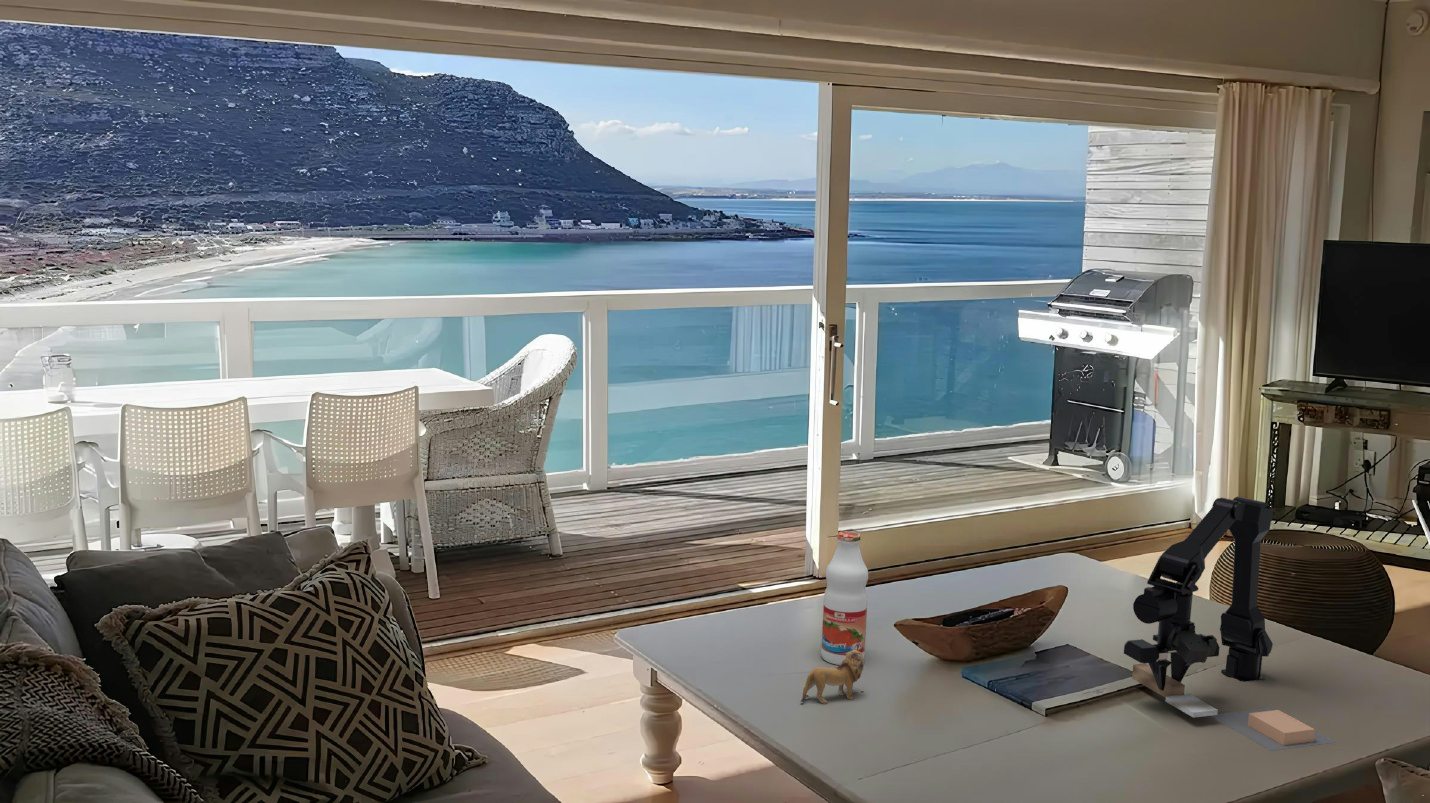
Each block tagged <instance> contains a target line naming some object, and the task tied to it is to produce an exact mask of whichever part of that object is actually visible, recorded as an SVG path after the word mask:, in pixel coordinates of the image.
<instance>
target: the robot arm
mask: <svg viewBox="0 0 1430 803" xmlns="http://www.w3.org/2000/svg"><path fill="white" fill-rule="evenodd" d="M1273 517H1274V514H1273V509H1272V507H1271V506H1270V504H1268V502H1266V501H1265V502H1264V501H1260V500H1257V499H1251V498H1248V497H1243V496H1236V497H1234V498H1233V499H1230V498H1225V497H1218V498H1215V500H1214V501H1213V503H1212V506H1211V508H1210V510H1209V511H1208V512H1207V513H1206V514H1205V515H1204V517H1203V518H1202V519H1201V520H1200V521H1199V522H1198V523H1197V525H1195V527H1194V529H1193V530H1192V531H1191V532H1190V533H1189V534H1188V536H1187V537H1186V538H1185V539H1184V540H1182V541H1179V542H1176V543H1174V544H1171V545H1170V546H1169V547H1167V549H1165V551H1163V553H1162V554H1161V555H1160V556H1159V557H1158V559H1157V561H1156V563H1155V566H1154V567H1153V569H1152V572H1151V574H1150V575H1149V578H1148V580H1147V583H1146V584H1147V585H1149V587H1148V586H1147V587H1145V588H1144V590H1143V593H1141V594H1139V595H1138V596H1137V597H1135V600H1134V601H1133V605H1132V608H1133V612H1134V615H1135V617H1136V618H1137V619H1138V620H1139V621H1140V622H1141V623H1144V624H1145V625H1146V624H1149V625H1150V624H1154V623H1158V629H1157V634H1153V635H1152V641H1154V642H1156V643H1155V644H1154V643H1153V644H1152V643H1150V642H1148V641H1147V640H1144V639H1143V638H1142V639H1130V640H1127V641H1126V642H1124V647H1123V654H1124V655H1126V656H1128V657H1129V658H1131V659H1133V660H1134V661H1137V662H1138V663H1139V664H1145V663H1146V664H1148V665H1149V666H1150V668H1151V670H1152V673H1153V675H1154V678H1155V681H1156V683H1157V686H1158V688H1159V689H1160V690H1161V691H1163V690H1164V686H1165V680H1166V675H1167V672H1168V671H1167V669H1168V667H1169V666H1170V677H1171V678H1173V679H1175V680H1177V681H1178V682H1180V683H1182V681H1183V679H1184V677H1185V676H1186V673H1187V672H1188V670H1189V668H1190V666H1192V665H1194V664H1195V663H1196V664H1197V663H1202V664H1205V663H1206V662H1207V660H1208V658H1213V657H1219V656H1220V645H1219V643H1218V641H1217V640H1218V638H1216V636H1214V635H1212V634H1208V635H1205V634H1202V633H1198V634H1197V633H1196V625H1195V622H1194V621H1191V618H1192V617H1191V616H1192V606H1193V605H1192V604H1193V596H1194V595H1193V594H1194V592H1197V591H1199V587H1198V585H1196V583H1197V582H1198V581H1199V580H1200V578H1201V577H1202V574H1203V573H1204V571H1205V569H1206V558H1207V556H1208V555H1209V554H1210V552H1211V551H1212V550H1213V549H1214V547H1216V545H1217V543H1219V541H1220V540H1221V539H1222V538H1223V537H1224V536H1225V534H1226V533H1227V532H1228V531H1229V532H1230V534H1231V536H1232V538H1233V539H1234V548H1233V550H1234V552H1233V553H1234V554H1233V568H1232V569H1233V572H1232V573H1233V574H1232V590H1231V593H1232V594H1231V604H1230V606H1229V607H1228V608H1227V610H1226V611H1225V612H1223V613H1222V614H1220V627H1219V631H1220V638H1221V645H1222V646H1224V647H1225V646H1226V647H1229V648H1228V653H1227V655H1226V663H1225V669H1221V671H1220V672H1221V673H1222V674H1224V675H1225V676H1228V677H1230V678H1233V679H1236V680H1238V681H1240V682H1243V683H1244V682H1245V683H1246V682H1253V681H1263V680H1266V679H1267V678H1266V677H1264V676H1262V675H1261V673H1262V665H1263V664H1262V663H1263V657H1270V656H1269V655H1270V654H1271V652H1272V649H1273V645H1274V643H1273V641H1272V640H1271V638H1270V636H1269V634H1268V633H1267V631H1266V619H1265V616H1264V615H1263V614H1262V611H1261V610H1260V608H1259V606H1258V596H1259V581H1260V580H1259V579H1260V577H1259V576H1260V559H1261V556H1260V555H1261V541H1262V540H1263V538H1264V537H1265V536H1266V535H1267V534H1268V532H1269V531H1270V530H1271V524H1272V523H1271V522H1272V521H1273ZM1151 586H1152V587H1151ZM1169 654H1170V660H1168V656H1169Z"/></svg>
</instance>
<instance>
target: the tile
mask: <svg viewBox="0 0 1430 803" xmlns="http://www.w3.org/2000/svg"><path fill="white" fill-rule="evenodd" d="M1248 726H1250V727H1252V728H1254V729H1255V730H1257V731H1259V732H1261V733H1262V734H1264V735H1266V736H1268V737H1269V738H1271V739H1273V740H1275V741H1276V742H1278V743H1280V744H1282V745H1290V744H1298V743H1306V742H1313V741H1314V732H1316V729H1315V728H1313V727H1311V726H1310V725H1307V724H1306V723H1304V722H1302V721H1300V720H1298V719H1297V718H1295V717H1292V716H1290V715H1289V714H1287V713H1285V712H1283V711H1281V710H1280V709H1274V710H1273V711H1264V712H1256V713H1249V717H1248Z"/></svg>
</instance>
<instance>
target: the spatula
mask: <svg viewBox="0 0 1430 803" xmlns="http://www.w3.org/2000/svg"><path fill="white" fill-rule="evenodd" d="M1131 678H1132V680H1134V681H1135V682H1137V683H1139V684H1141V685H1143V686H1145V687H1146V688H1148V689H1150V690H1152V691H1153V692H1155V694H1156V693H1157V694H1158V695H1160V696H1162V697H1163V698H1165V700H1164V701H1165V703H1167V704H1169V705H1170V706H1172V707H1174V708H1176V709H1178V710H1179V711H1181V712H1183V713H1184V714H1186V715H1188V716H1190V717H1191V718H1194V719H1195V718H1201V717H1211V715H1217V714H1219V713H1218V712H1219V709H1217V708H1215V707H1213V705H1210V704H1208V703H1206V702H1205V701H1203V700H1201V699H1200V698H1197V697H1196V696H1194V695H1192V694H1190V693H1186V694H1185V689H1186V688H1185V686H1186V685H1185V684H1184V683H1182V682H1181V683H1180V682H1178V681H1177V680H1175V679H1173V678H1171V676H1169V675H1168V674H1166V680H1165V686H1164V690H1163V691H1161V690H1160V689H1159V688H1158V686H1157V683H1156V681H1155V678H1154V675H1153V673H1152V670H1151V668H1150V665H1149V664H1148V663H1139V664H1138V663H1137V664H1136V663H1135V664H1132V677H1131Z"/></svg>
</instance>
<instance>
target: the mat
mask: <svg viewBox="0 0 1430 803" xmlns="http://www.w3.org/2000/svg"><path fill="white" fill-rule="evenodd" d="M1273 710H1275V709H1274V708H1273V707H1266V708H1260V709H1259V708H1258V709H1250V710H1241V711H1233V712H1224V713H1223V712H1222V713H1218V714H1217V715H1211V716H1210V717H1212V718H1213V719H1215V720H1217V721H1219V722H1220V723H1222V724H1223V725H1225V726H1227V727H1229V728H1230V729H1232V730H1234V731H1236V732H1237V733H1239V734H1240V735H1242V736H1244V737H1246V738H1247V739H1249V740H1251V741H1253V743H1254V742H1255V743H1256V744H1258V745H1260V746H1261V747H1263V748H1264V749H1267V750H1268V751H1270V752H1273V751H1281V750H1289V749H1297V748H1305V747H1310V746H1312V747H1313V746H1318V745H1327V744H1334V743H1336V741H1334V740H1332V739H1330V738H1328V737H1326V736H1324V735H1323V734H1322V733H1319V732H1317V731H1315V732H1314V741H1313V742H1306V743H1298V744H1290V745H1282V744H1280V743H1278V742H1276V741H1275V740H1273V739H1271V738H1269V737H1268V736H1266V735H1264V734H1262V733H1261V732H1259V731H1257V730H1255V729H1254V728H1252V727H1250V726H1248V717H1249V713H1256V712H1264V711H1273Z"/></svg>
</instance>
